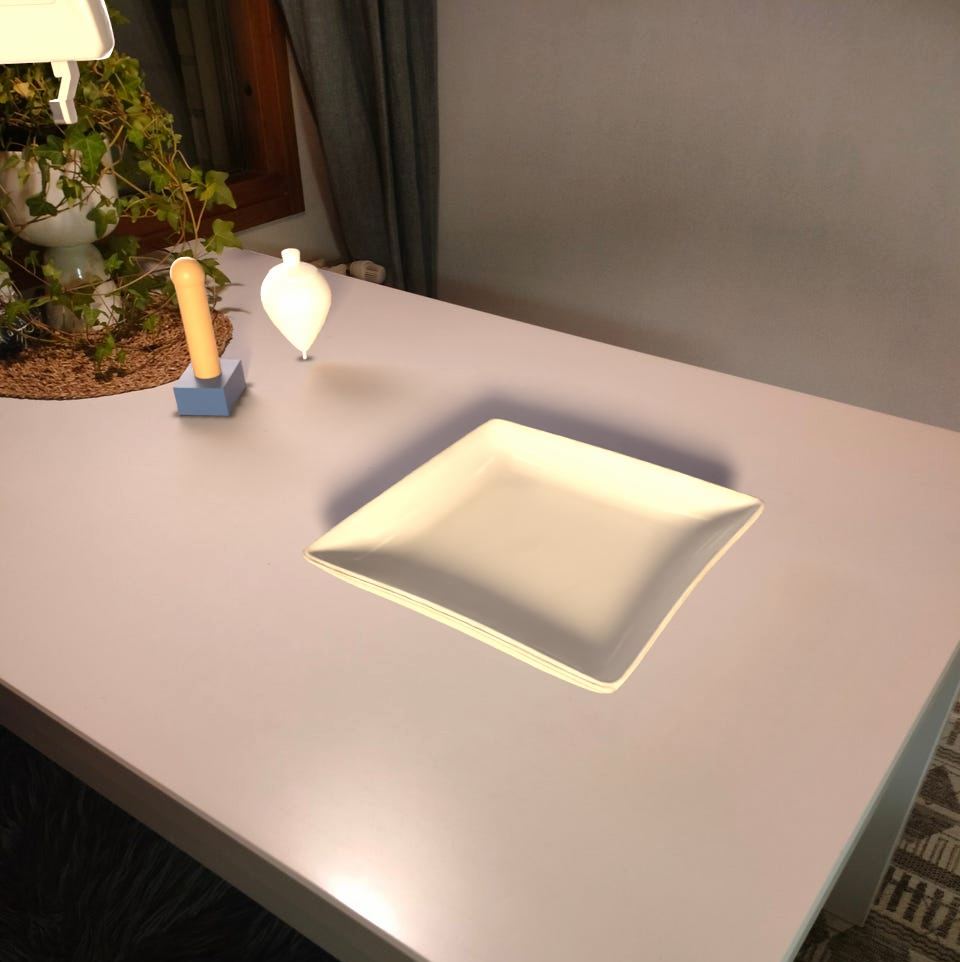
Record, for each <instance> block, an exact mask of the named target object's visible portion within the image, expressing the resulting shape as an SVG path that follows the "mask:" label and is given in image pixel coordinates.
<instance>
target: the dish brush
mask: <svg viewBox="0 0 960 962" xmlns="http://www.w3.org/2000/svg"><path fill="white" fill-rule="evenodd" d="M169 275H170V279H171V282H172V283H173V285H174V289H175V294H176V298H177V303H178V307H179V308H178V309H179V312H180V317H181V321H182V325H183V330H184V334H185V339H186V344H187V349H188V353H189V358H190V362H189V364H188V366H187V367H186V369H185V370H184V372H183V373H182V374H181V376H180V377H179V379H178V380H177V381H176V383H175V384H174V386H173V387H172V389H173V390H172V391H173V394H174V397H175V403H176V406H177V407H176V408H177V410H178V415H179V416H214V417H215V416H217V417H219V416H222V417H223V416H224V417H229V416H230V414H231V413H232V411H233V409H234V408H235V405H236V404H237V403H238V401H239V399H240V397H241V395H242V393H243V392H244V390H245V388H246V386H247V384H246V379H245V374H244V367H243V362H242V359H241V358H239V359H238V358H237V359H236V358H233V359H232V358H220V356H219V351H218V345H217V340H216V336H215V335H216V334H215V331H214V325H213V321H212V315H211V310H210V305H209V300H208V295H207V290H206V284H205V279H206V274H205V270H204V267H203V266H202V265H201V263H199V261H197V259H195V258H192V257H190V256H182V257H179V258H177V259H176V260H174V261H173V263H172V264H171V266H170V271H169Z"/></svg>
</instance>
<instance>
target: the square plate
mask: <svg viewBox="0 0 960 962" xmlns="http://www.w3.org/2000/svg"><path fill="white" fill-rule="evenodd" d="M765 507H766V503H765V502H764V500H763V499H761V498H758V497H756V496H753V495H751V494H747V493H744V492H741V491H737V490H734V489H732V488H728V487H725V486H723V485H719V484H717V483H714V482H710V481H707V480H705V479H701V478H698V477H695V476H693V475H690V474H686V473H683V472H680V471H677V470H675V469H672V468H668V467H665V466H662V465H660V464H659V465H658V464H655V463H652V462H649V461H646V460H642V459H639V458H637V457H633V456H630V455H627V454H624V453H620V452H617V451H613V450H610V449H607V448H605V447H600V446H598V445H594V444H590V443H587V442H583V441H580V440H577V439H573V438H570V437H567V436H563V435H559V434H555V433H552V432H550V431H549V432H548V431H546V430H542V429H538V428H534V427H532V426H527V425H524V424H521V423H517V422H514V421H510V420H506V419H504V418H503V419H502V418H496V417H495V418H491V419H487V421H485V422H483V423H482V424H480V425H479V426H477V427H475V428H473V430H471V431H470V432H468V433H466V434H464V435H463V436H462V437H461V438H459V439H458V440H455V442H453V443H452V444H450V445H449V446H447V447H446V448H444V449H442V450H441V451H440V452H438V453H437V454H436V455H434V456H433V457H431V458H429V459H428V460H427V461H425V462H424V463H422V464H421V465H420V466H418V467H417V468H414V470H412V471H411V472H410V473H408V474H406V475H405V476H404V477H402V478H401V479H399V480H398V481H397V482H395V483H393V484H392V485H391V486H390V487H388V488H387V489H385V490H383V491H382V492H381V493H380V494H378V495H377V496H375V497H374V498H372V499H370V501H368V502H367V503H365V504H363V505H362V506H361V507H360V508H358V509H357V510H356V511H354V512H352V513H351V514H350V515H348V516H347V517H346V518H344V519H343V520H341V521H340V522H338V523H337V524H335V525H334V526H333V527H332V528H330V529H329V530H327V531H326V532H324V533H323V534H322V535H321V536H319V537H318V538H316V539H315V540H314V541H313V542H311V543H310V544H309V545H308V546H307V547H305V548H303V550H302V552H301V556H302V557H303V558H304V560H306V561H307V562H309V563H310V564H312V565H314V566H315V567H317V568H318V569H321V570H323V571H324V572H326V573H328V574H330V575H332V576H334V577H335V578H338V579H340V580H342V581H344V582H346V583H348V584H350V585H352V586H355V587H357V588H359V589H362V590H364V591H367V592H369V593H372V594H374V595H377V596H380V597H381V598H384V599H386V600H389V601H392V602H394V603H397V604H399V605H400V606H403V607H405V608H407V609H411V610H412V611H415V612H417V613H419V614H421V615H423V616H426V617H428V618H430V619H433V620H435V621H437V622H439V623H441V624H444V625H446V626H447V627H451V628H453V629H455V630H457V631H460V632H462V633H463V634H466V635H467V636H468V635H469V636H470V637H472V638H474V639H476V640H478V641H480V642H482V643H484V644H487V645H489V646H491V647H493V648H495V649H497V650H498V651H501V652H503V653H505V654H508V655H510V656H511V657H514V658H515V659H518V660H519V661H522V662H524V663H526V664H528V665H529V666H532V667H534V668H536V669H537V670H540V671H542V672H544V673H547V674H550V675H552V676H554V677H556V678H557V679H558V678H559V679H560V680H563V681H565V682H568V683H570V684H573V685H575V686H577V687H580V688H583V689H585V690H588V691H591V692H595V693H598V694H613V693H615V692H616V691H617V690H618V689H620V687H621V686H622V685H624V683H625V682H626V681H627V680H628V679H629V677H630V676H631V675H632V673H633V672H634V671H635V670H636V669H637V667H638V665H640V663H641V661H642V660H643V659H644V657H645V656H646V654H647V653H649V651H650V649H651V648H652V647H653V645H654V643H655V642H656V641H657V639H658V638H659V636H660V635H661V633H662V632H663V631H664V629H665V628H666V627H667V625H668V623H670V621H671V619H672V618H673V617H674V616H675V615H676V613H677V612H678V610H679V609H680V607H682V605H683V604H684V602H685V601H686V600H687V599H688V597H689V596H690V595H691V593H692V592H693V591H694V590H695V588H696V587H697V586H698V584H699V583H700V582H701V581H702V580H703V578H704V577H705V576H706V575H707V574H708V572H709V571H710V570H711V569H712V568H713V567H714V566H715V565H716V564H717V562H719V561H720V560H721V558H722V557H723V556H724V555H725V554H726V553H727V552H728V551H729V549H730V548H732V547H733V546H734V544H735V543H736V542H737V541H738V540H739V539H740V538H741V537H742V536H743V535H744V534H745V533H746V532H747V531H748V530H749V529H750V528H751V526H752V525H753V524H755V522H756V521H757V520H758V518H759V517H760V516H761V515H762V514H763V512H764V509H765Z"/></svg>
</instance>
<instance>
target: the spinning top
mask: <svg viewBox="0 0 960 962" xmlns="http://www.w3.org/2000/svg"><path fill="white" fill-rule="evenodd" d="M281 257H282V260H283V262H281V263H279V264H277V265H275V266H273V267H272V268H271V269H269V271H268V273H267V275H266V276H265V278H264V279H263V282H262V285H261V288H260V299H261V300H260V301H261V304H262V307H263V309H264V311H265V313H266V314H267V316H268V318H269V319H270V321H271V322H272V323H273V325H274V326H275V327H276V328H277V329H278V331H279V332H280V333H281V334H282V335H283V336H284V337H285V338H286V339H287V340H288V342H290V343H291V344H292V345H293V346H294V347H295V348H296V349H297V350H299V351H300V352H302V359H303V360H306V359H307V351H309V350H310V348H311V347H312V345H313V344H314V342H315V341H316V339H317V338H318V335H319V334H320V332H321V330H322V328H323V326H324V325H325V323H326V320H327V317H328V315H329V312H330V309H331V306H332V301H333V295H332V294H333V293H332V288H331V285H330V283H329V281H328V279H327V278H326V277H325V275H324V274H323V273H322V272H321V271H320V269H319V270H318V268H317V266H315V265H313V264H311V263H308V262H304V261H301V251H300V250H299V249H297V248H294V247H293V248H285V249H283V250H282V251H281Z"/></svg>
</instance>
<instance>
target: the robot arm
mask: <svg viewBox="0 0 960 962" xmlns="http://www.w3.org/2000/svg"><path fill="white" fill-rule="evenodd" d="M114 47H115V38H114V32H113V28H112V23H111V19H110V16H109V13H108V9H107V5H106V3H105V0H0V65H5V64H27V63H49V62H50V64H51V68H52V72H53V75H54V77H55V78H61V81H60V85H59V91H58V96H57V99H52V100H49V101H48V105H49V109H50V112H52V119H53V122H54V124H55V125H72V124H75V123H78V115H77V110H76V106H75V102H74V99H75V96H76V92H77V88H78V84H79V80H80V76H81V74H80V69H79V66H78V62H79V61H95V60H96V61H97V60H104V59H107V58H109V57H110V56H111V54H112V52H113V49H114ZM77 61H78V62H77Z"/></svg>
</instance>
